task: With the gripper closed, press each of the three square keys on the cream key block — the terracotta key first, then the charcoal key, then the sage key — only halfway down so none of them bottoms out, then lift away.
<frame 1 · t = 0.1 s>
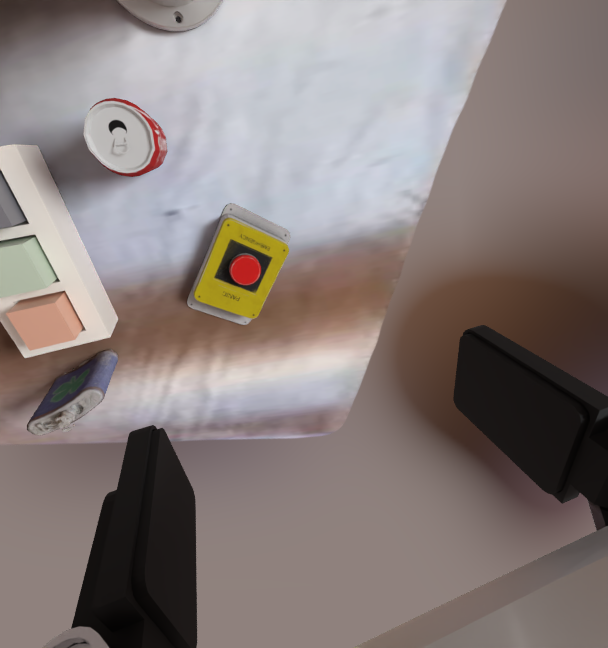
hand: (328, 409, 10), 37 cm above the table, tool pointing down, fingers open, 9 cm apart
sage key: (18, 265, 33), point 6 cm above the table, slide at 0.0 cm
flask: (88, 369, 45), on the table
terracotta key: (49, 318, 36), point 6 cm above the table, slide at 0.0 cm
soda can: (140, 142, 36), on the table
emergency button: (238, 267, 45), on the table
key block: (40, 251, 37), on the table
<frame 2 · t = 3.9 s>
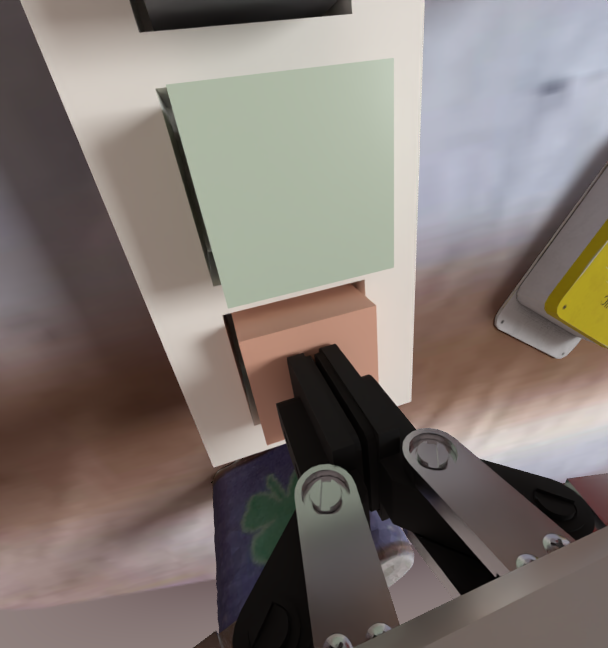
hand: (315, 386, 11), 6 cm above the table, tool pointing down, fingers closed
sage key: (282, 186, 9), point 6 cm above the table, slide at 0.0 cm
flask: (276, 449, 21), on the table
terracotta key: (301, 349, 13), point 4 cm above the table, slide at 1.1 cm
emergency button: (591, 245, 22), on the table
key block: (251, 174, 14), on the table
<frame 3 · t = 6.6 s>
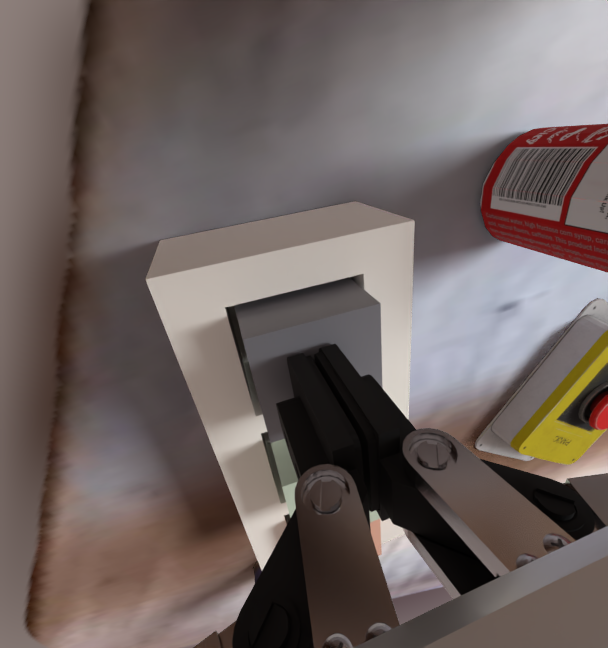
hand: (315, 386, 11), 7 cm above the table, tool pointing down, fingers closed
sage key: (326, 462, 15), point 6 cm above the table, slide at 0.0 cm
terracotta key: (329, 513, 19), point 4 cm above the table, slide at 1.2 cm
soda can: (515, 187, 18), on the table
charcoal key: (305, 347, 13), point 5 cm above the table, slide at 0.7 cm, touching gripper
emergency button: (550, 385, 29), on the table
key block: (295, 389, 20), on the table
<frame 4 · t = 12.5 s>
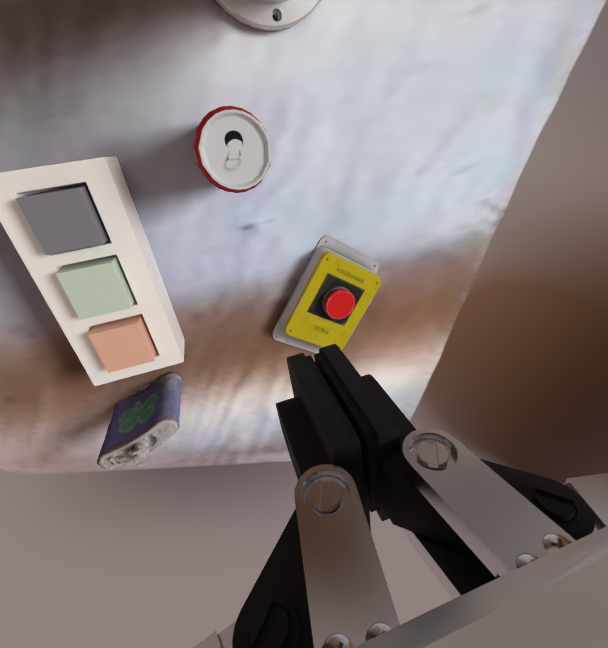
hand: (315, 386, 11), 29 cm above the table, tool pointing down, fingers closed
sage key: (100, 284, 31), point 4 cm above the table, slide at 1.2 cm
flask: (149, 392, 42), on the table
terracotta key: (126, 338, 34), point 4 cm above the table, slide at 1.2 cm
soda can: (222, 152, 33), on the table
charcoal key: (69, 218, 28), point 4 cm above the table, slide at 1.2 cm
emergency button: (323, 298, 44), on the table
key block: (110, 270, 34), on the table
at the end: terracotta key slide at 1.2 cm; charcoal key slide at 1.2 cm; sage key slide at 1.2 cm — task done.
